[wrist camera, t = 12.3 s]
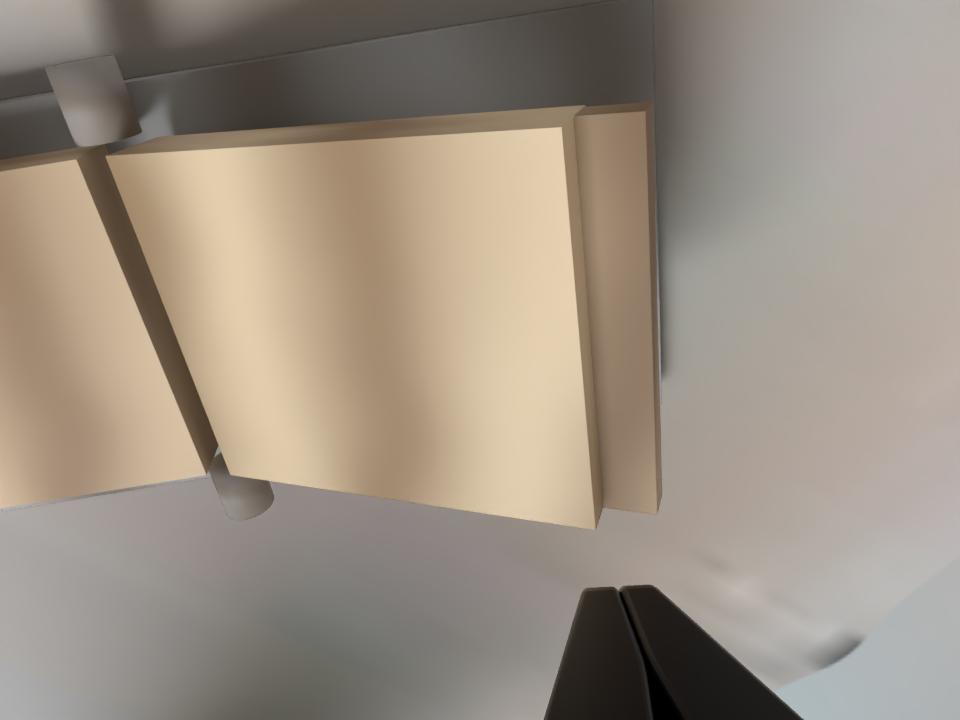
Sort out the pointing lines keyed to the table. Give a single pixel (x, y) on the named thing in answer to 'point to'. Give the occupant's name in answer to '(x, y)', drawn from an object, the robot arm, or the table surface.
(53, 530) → the table surface
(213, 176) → the click plank
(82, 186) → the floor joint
